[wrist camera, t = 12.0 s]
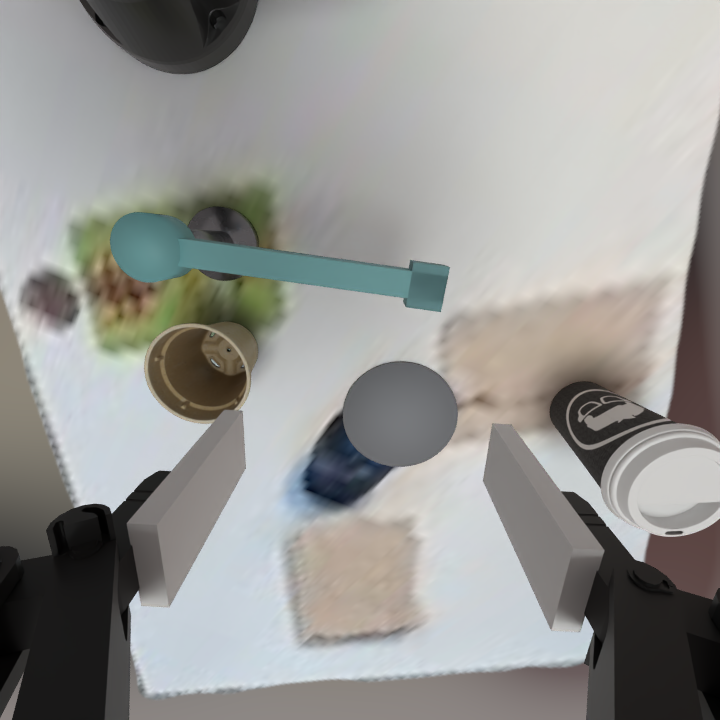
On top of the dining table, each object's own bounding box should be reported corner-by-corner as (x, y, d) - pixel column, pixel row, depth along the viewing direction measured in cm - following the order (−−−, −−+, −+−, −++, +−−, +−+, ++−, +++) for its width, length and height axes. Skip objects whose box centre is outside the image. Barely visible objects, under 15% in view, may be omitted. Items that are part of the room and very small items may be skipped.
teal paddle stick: (138, 273, 28) (112, 277, 26) (135, 210, 27) (107, 207, 24) (433, 314, 29) (439, 323, 26) (444, 254, 27) (453, 256, 24)
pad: (344, 358, 42) (344, 360, 41) (463, 364, 42) (464, 365, 41) (341, 461, 46) (341, 463, 45) (450, 467, 46) (450, 469, 45)
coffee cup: (521, 432, 44) (593, 525, 30) (560, 357, 41) (660, 420, 27) (596, 456, 45) (702, 558, 30) (640, 383, 42) (779, 460, 27)
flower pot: (287, 329, 41) (265, 352, 33) (256, 401, 44) (229, 439, 36) (204, 291, 40) (161, 305, 32) (178, 367, 43) (132, 398, 35)
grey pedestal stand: (186, 205, 38) (115, 193, 27) (257, 208, 37) (213, 197, 27) (193, 278, 40) (129, 292, 29) (260, 281, 40) (220, 296, 29)
